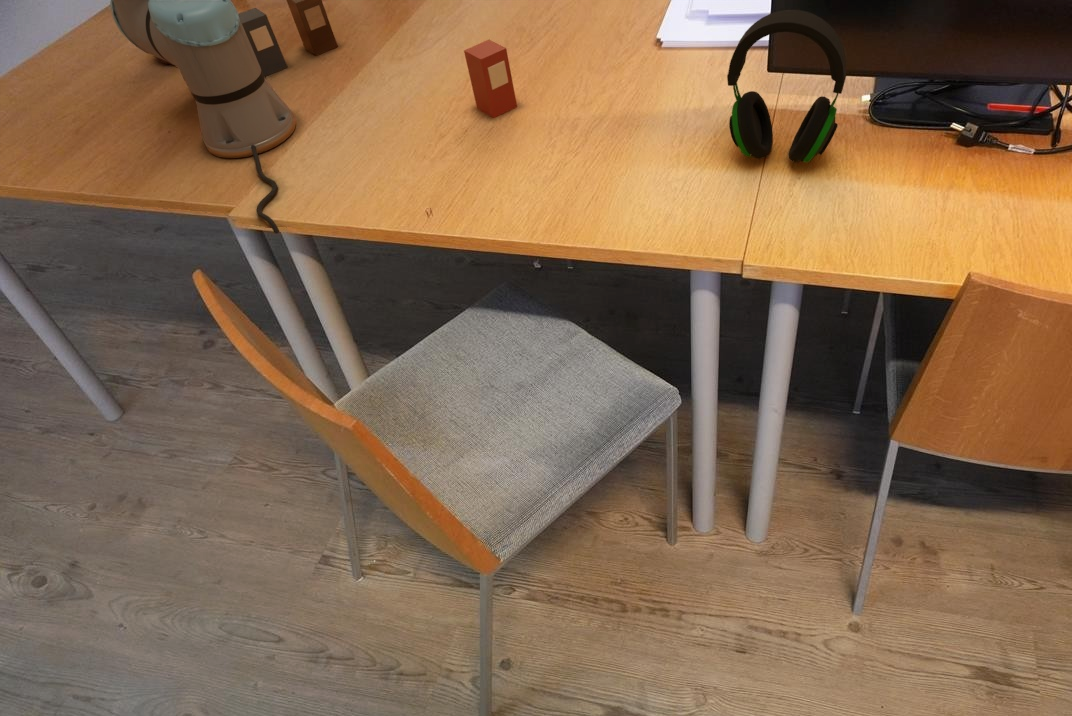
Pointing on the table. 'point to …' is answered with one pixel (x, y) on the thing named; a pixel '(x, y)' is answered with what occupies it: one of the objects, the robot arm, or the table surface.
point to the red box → (491, 78)
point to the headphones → (751, 111)
